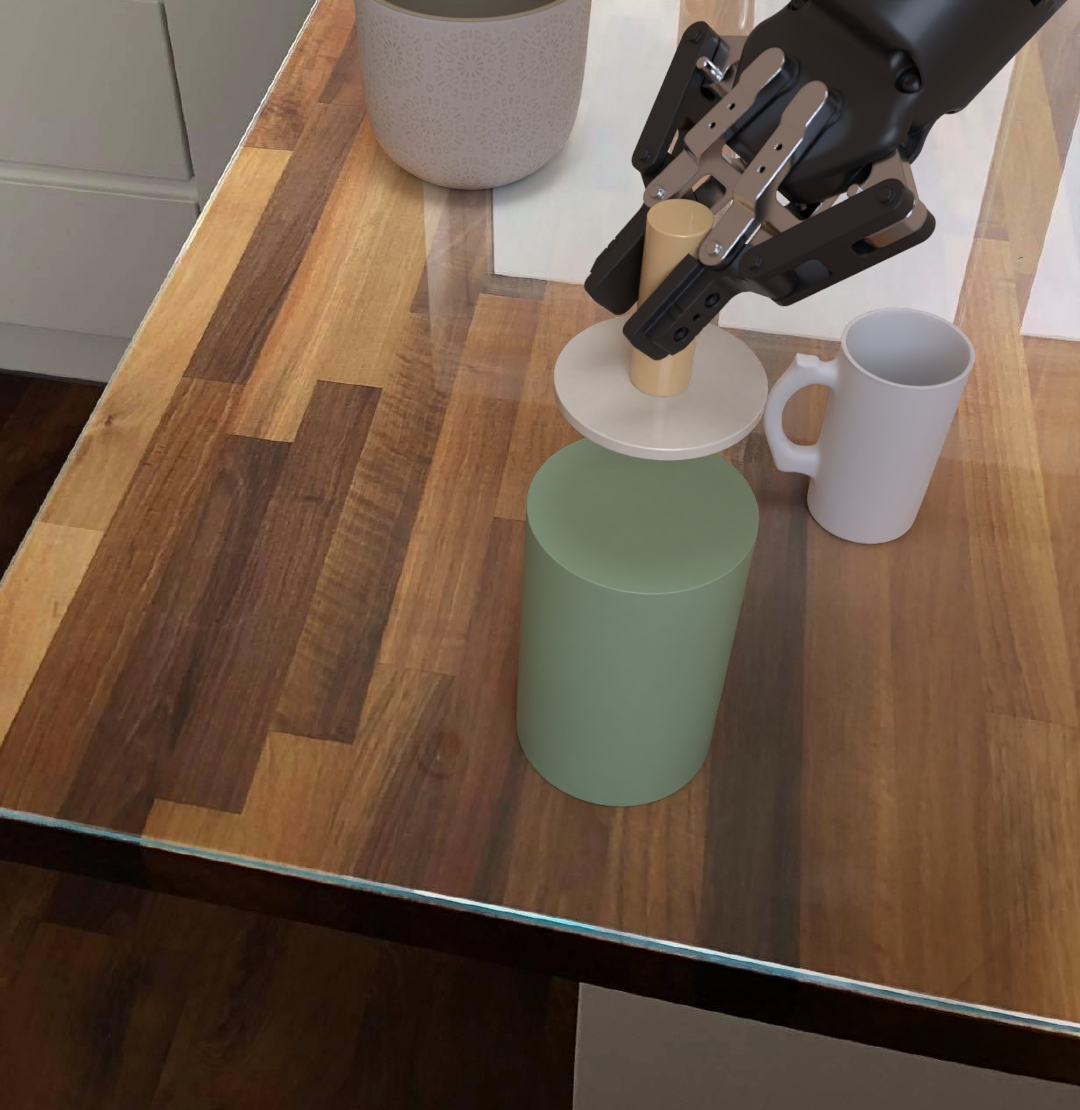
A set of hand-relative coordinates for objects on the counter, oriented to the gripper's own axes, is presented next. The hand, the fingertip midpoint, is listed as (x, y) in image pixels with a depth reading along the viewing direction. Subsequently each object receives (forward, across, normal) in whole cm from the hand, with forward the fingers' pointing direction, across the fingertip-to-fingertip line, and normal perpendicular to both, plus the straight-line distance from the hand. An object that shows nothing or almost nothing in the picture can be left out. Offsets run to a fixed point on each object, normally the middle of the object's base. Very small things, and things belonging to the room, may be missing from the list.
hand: (621, 323), depth 52 cm
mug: (+4, -9, +34) cm, 35 cm away
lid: (+1, 0, +4) cm, 5 cm away
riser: (+17, 0, +20) cm, 27 cm away
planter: (+6, -53, +32) cm, 62 cm away
